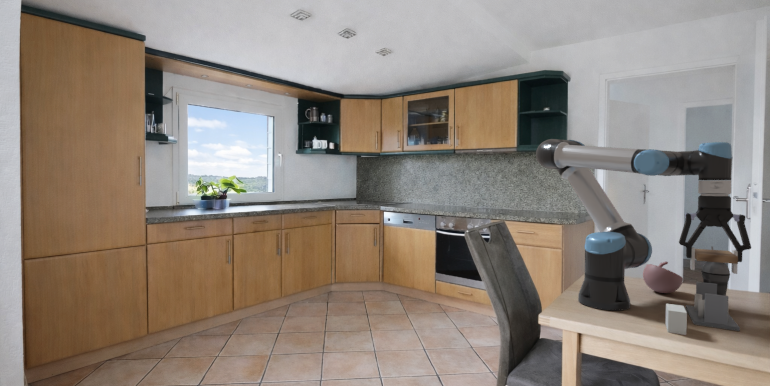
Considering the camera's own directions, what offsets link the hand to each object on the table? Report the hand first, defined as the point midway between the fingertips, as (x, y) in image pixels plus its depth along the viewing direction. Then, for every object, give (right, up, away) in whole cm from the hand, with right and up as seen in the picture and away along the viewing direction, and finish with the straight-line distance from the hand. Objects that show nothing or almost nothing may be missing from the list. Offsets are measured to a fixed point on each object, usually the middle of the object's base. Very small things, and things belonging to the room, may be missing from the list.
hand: (712, 270), depth 118 cm
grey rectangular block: (-17, -15, -8) cm, 24 cm away
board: (0, +4, 0) cm, 4 cm away
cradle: (0, -14, +1) cm, 14 cm away
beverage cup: (+9, -14, +10) cm, 20 cm away
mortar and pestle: (+4, -14, +28) cm, 32 cm away
